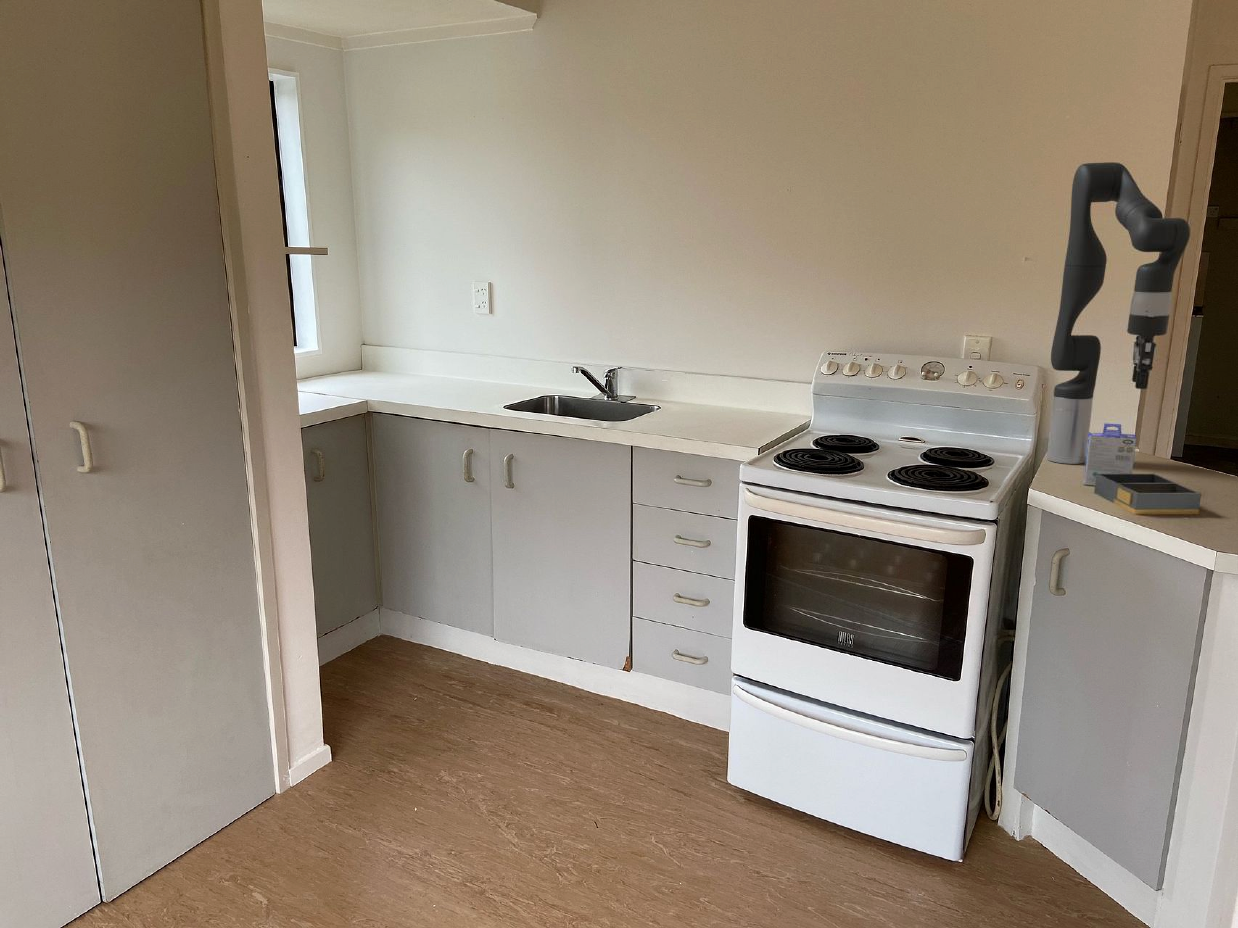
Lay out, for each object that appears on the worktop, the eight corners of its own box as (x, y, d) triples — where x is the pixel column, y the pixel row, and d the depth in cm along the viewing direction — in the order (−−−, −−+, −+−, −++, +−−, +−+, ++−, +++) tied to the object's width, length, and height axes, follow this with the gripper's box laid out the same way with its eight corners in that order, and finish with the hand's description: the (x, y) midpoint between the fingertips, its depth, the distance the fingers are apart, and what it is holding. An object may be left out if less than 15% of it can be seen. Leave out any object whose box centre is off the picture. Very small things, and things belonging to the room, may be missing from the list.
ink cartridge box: (1129, 483, 202) (1136, 424, 198) (1131, 489, 197) (1139, 428, 194) (1082, 480, 206) (1088, 421, 203) (1083, 485, 201) (1090, 425, 198)
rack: (1092, 492, 195) (1095, 473, 194) (1152, 492, 194) (1154, 473, 193) (1133, 514, 178) (1135, 493, 177) (1198, 514, 177) (1201, 493, 176)
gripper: (1127, 309, 193) (1117, 379, 198) (1132, 315, 181) (1122, 389, 185) (1165, 310, 190) (1155, 381, 194) (1173, 316, 178) (1162, 392, 182)
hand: (1139, 385), depth 190 cm, fingers open, 8 cm apart
